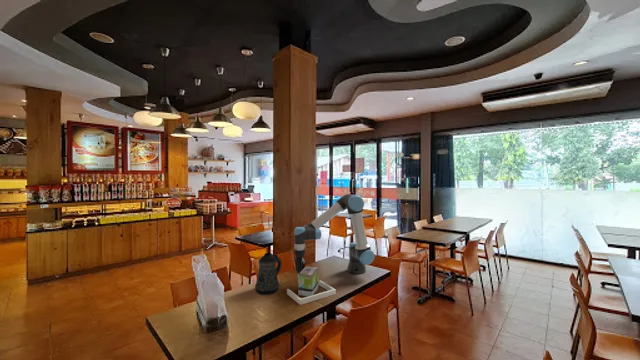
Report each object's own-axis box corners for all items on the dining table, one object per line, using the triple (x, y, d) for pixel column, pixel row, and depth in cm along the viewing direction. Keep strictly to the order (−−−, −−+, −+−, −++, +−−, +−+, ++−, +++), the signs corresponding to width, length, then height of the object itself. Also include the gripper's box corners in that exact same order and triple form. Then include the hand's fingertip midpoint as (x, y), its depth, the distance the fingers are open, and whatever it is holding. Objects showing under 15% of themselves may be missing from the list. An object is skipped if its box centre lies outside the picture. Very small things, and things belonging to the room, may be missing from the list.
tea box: (312, 297, 175) (313, 274, 174) (297, 295, 177) (298, 272, 177) (318, 288, 189) (319, 267, 189) (304, 286, 192) (305, 265, 191)
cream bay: (320, 284, 195) (320, 280, 195) (336, 294, 179) (335, 289, 179) (286, 293, 180) (286, 289, 180) (300, 305, 165) (300, 300, 165)
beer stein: (250, 293, 181) (249, 256, 180) (264, 282, 199) (263, 249, 199) (273, 296, 176) (272, 258, 176) (284, 284, 195) (284, 250, 194)
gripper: (290, 247, 196) (291, 280, 196) (299, 252, 185) (300, 286, 185) (299, 246, 200) (300, 277, 200) (309, 250, 189) (309, 283, 189)
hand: (300, 281), depth 193 cm, fingers closed
